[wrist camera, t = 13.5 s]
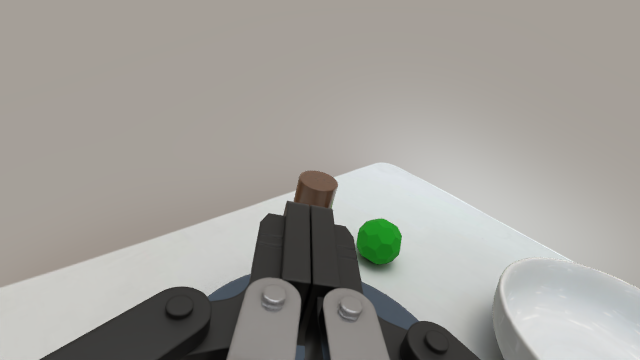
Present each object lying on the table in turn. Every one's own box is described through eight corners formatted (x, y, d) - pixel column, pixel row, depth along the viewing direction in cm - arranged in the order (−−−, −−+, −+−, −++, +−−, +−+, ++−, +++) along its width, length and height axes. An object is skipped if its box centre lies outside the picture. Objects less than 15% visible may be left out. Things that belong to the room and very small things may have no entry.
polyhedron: (343, 256, 42) (355, 221, 40) (363, 237, 46) (374, 205, 44) (383, 279, 40) (397, 245, 38) (400, 258, 44) (414, 225, 42)
